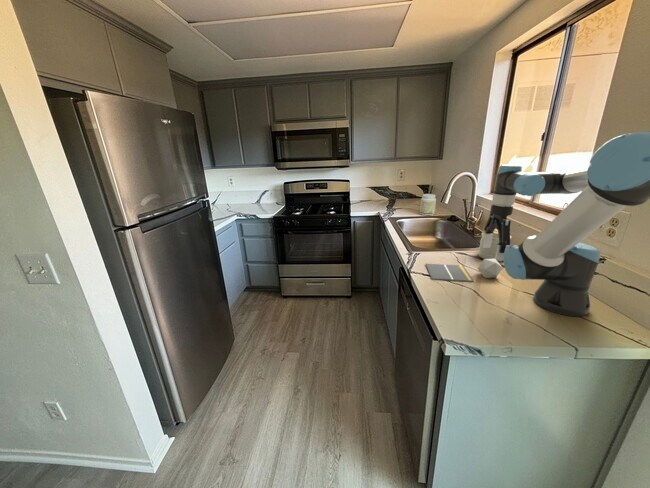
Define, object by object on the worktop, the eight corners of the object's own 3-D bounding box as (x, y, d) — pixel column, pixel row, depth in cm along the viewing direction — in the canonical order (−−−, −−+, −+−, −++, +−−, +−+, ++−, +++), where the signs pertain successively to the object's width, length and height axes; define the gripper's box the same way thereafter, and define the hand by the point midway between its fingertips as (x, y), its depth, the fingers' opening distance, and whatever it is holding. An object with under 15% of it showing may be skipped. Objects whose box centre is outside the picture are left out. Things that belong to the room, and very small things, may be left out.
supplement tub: (424, 212, 237) (426, 193, 232) (437, 214, 229) (439, 194, 223) (416, 214, 230) (418, 194, 224) (429, 216, 221) (432, 196, 216)
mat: (474, 282, 113) (474, 280, 113) (431, 279, 116) (431, 278, 116) (463, 266, 128) (463, 265, 127) (425, 264, 131) (425, 263, 131)
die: (492, 272, 122) (480, 255, 122) (510, 270, 114) (497, 252, 114) (482, 283, 119) (470, 265, 119) (500, 281, 111) (487, 262, 111)
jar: (512, 261, 132) (520, 227, 126) (486, 262, 132) (492, 227, 126) (497, 252, 144) (503, 220, 138) (472, 252, 145) (478, 220, 139)
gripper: (528, 211, 95) (515, 265, 103) (499, 198, 118) (490, 243, 125) (505, 211, 97) (494, 264, 104) (481, 198, 120) (473, 242, 127)
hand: (492, 253), depth 115 cm, fingers open, 13 cm apart
